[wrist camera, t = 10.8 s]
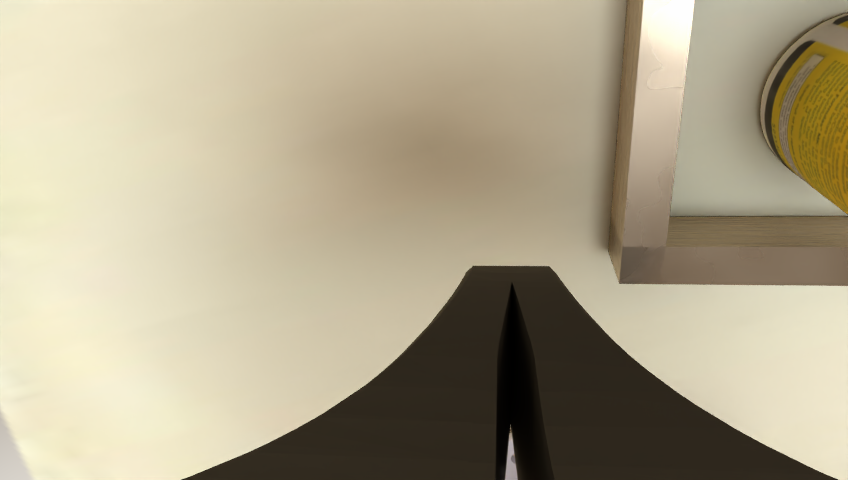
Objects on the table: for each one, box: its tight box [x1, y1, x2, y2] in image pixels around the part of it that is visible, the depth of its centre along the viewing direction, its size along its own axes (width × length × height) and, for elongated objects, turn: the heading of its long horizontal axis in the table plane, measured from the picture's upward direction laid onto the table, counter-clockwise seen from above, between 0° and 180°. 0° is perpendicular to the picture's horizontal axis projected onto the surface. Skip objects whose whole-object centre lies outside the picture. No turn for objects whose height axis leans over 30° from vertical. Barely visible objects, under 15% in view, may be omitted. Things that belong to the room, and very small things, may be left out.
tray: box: [608, 0, 848, 286], centre depth 18 cm, size 9×9×2 cm
